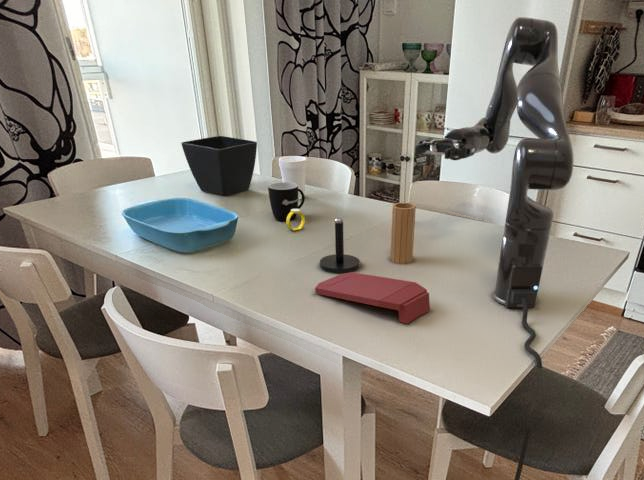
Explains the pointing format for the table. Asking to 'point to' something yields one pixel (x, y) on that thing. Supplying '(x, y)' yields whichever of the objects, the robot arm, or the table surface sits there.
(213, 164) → the flower pot
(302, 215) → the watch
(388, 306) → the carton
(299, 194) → the foam cup
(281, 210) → the mug
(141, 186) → the table surface
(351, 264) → the stand
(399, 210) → the wooden tube
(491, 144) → the robot arm
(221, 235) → the casserole dish
